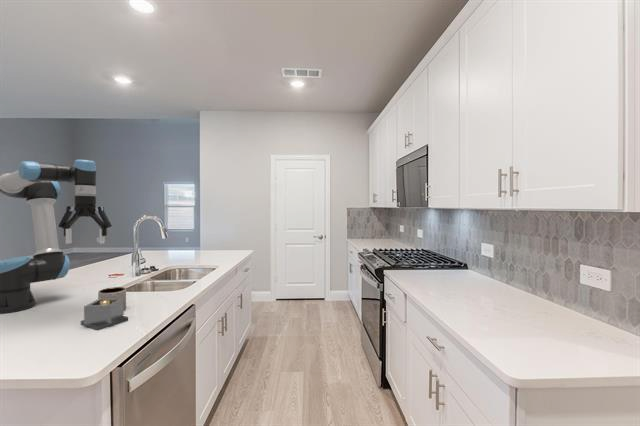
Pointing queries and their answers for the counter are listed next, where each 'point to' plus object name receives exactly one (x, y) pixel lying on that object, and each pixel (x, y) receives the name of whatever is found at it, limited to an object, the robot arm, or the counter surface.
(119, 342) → the counter surface
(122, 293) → the planter
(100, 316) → the collar
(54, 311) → the counter surface
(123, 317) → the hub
